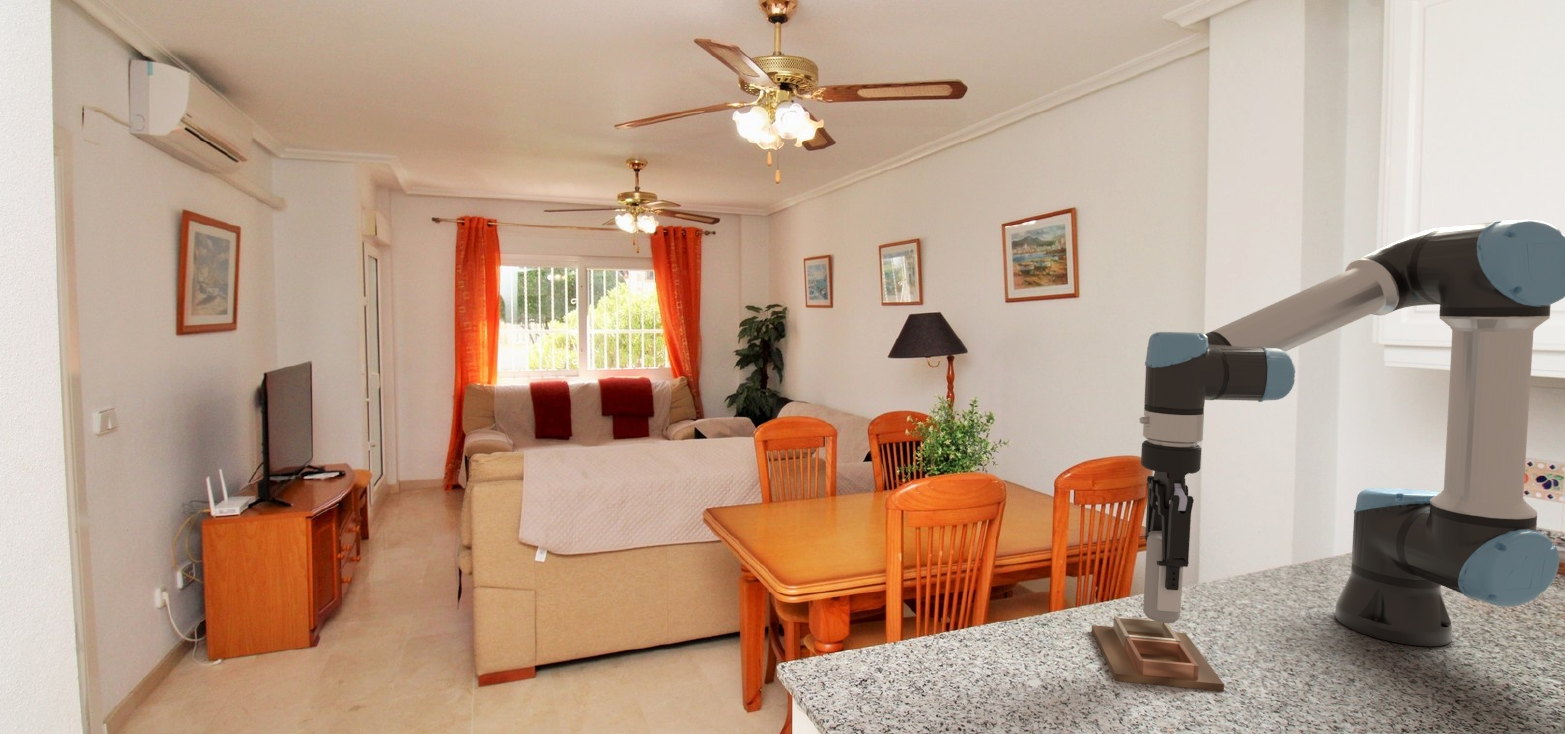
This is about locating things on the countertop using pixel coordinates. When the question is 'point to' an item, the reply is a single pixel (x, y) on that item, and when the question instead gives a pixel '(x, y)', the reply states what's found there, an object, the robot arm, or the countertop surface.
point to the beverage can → (1155, 581)
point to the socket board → (1154, 655)
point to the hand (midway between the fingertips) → (1162, 602)
